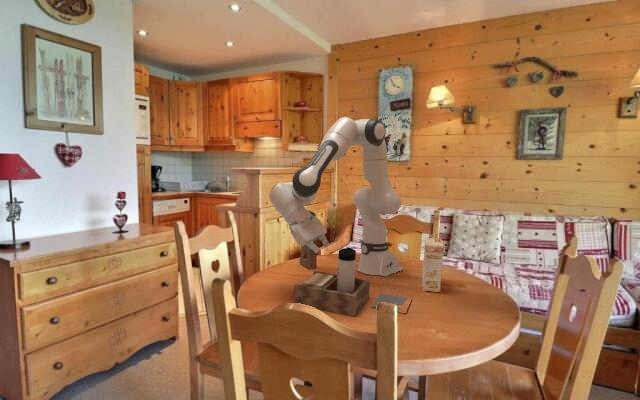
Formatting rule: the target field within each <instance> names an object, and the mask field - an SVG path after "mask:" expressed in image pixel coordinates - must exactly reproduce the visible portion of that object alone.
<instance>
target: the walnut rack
mask: <svg viewBox="0 0 640 400" xmlns="http://www.w3.org/2000/svg"><path fill="white" fill-rule="evenodd" d="M312 273H313V274H312V276H313V275H314V274H316V273H321V274H327V275H333V280H332V281H331V282H330V283H328V284H327V285H326V286H325V287H324V288H323V289H321V288H316V287H310V286H305V285H303V283H302V284H298V283H295V284H293V304H294V303H301V304H305V305H309V306H312V307H315V308H317V309H316V310H321V311H326V312H330V313H334V314H340V315H345V316H348V317H349V316H351V317H356V315H357V314H358V313H359V311H360V310H361V309H362V307H363V306H364V304H365V303H366V302H367V300H368V299H369V298H370V283H371V279H369V278H368V279H367V278H365V277H364V278H363V277H356V276H355V284H354V293H353V294H349V293H343V292H338V291H337V276H338V273H332V272H327V271H326V272H325V271H318V270H314V271H313V272H312ZM315 308H314V309H315Z"/></svg>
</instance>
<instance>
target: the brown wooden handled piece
mask: <svg viewBox="0 0 640 400" xmlns="http://www.w3.org/2000/svg"><path fill="white" fill-rule="evenodd" d="M313 244H315V245H316V246H318V239H316V240H314V241H313ZM300 247H301V246H300ZM317 255H318V252H317V253H315V252H314V251H313V250H312V249H310V248H309V247H308V246H307V245H304V246H302V247H301V248H300V256H299V265H301V266H302V267H306V268H307V269H308V270H315V269H317Z"/></svg>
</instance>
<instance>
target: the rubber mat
mask: <svg viewBox="0 0 640 400" xmlns="http://www.w3.org/2000/svg"><path fill="white" fill-rule="evenodd" d="M408 298H409V297H405V296H397V295H392V294H387V293H382V292H380V293H379V295H378V297H377V298H376V299H375V300H374V303H373V304H372V306H371V308H372V309H376V305H377V303H378V302H387V303H392V304H395V303H396V305H397V306H399V305H403V304H404V302H405V301H406V300H407V299H408ZM376 310H377V309H376ZM398 312H399V307H398Z"/></svg>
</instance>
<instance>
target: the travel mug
mask: <svg viewBox="0 0 640 400" xmlns="http://www.w3.org/2000/svg"><path fill="white" fill-rule="evenodd" d="M356 253H357V251H356V250H355V249H354V248H352V247H345V248H340V249H339V250H338V258H337V260H338V261H337V262H338V263H337V274H338V276H337V291H338V292H343V293H349V294H353V293H354V284H355V277H356V259H357V258H356V257H357V255H356Z"/></svg>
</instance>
